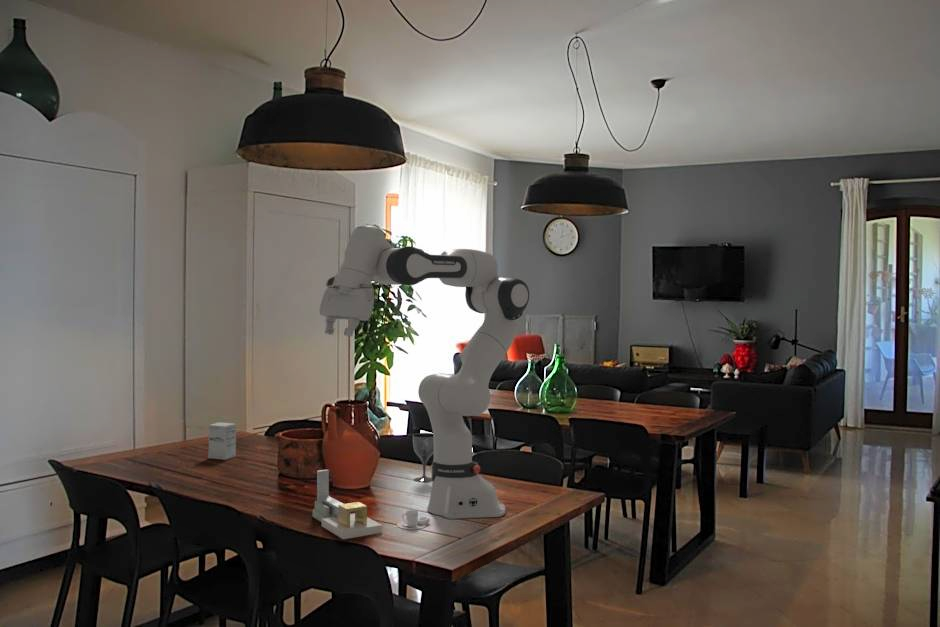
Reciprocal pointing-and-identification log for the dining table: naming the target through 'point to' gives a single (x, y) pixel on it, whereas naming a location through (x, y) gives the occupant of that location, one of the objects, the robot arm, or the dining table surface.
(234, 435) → the supplement box
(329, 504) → the grey l-shaped piece
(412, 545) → the dining table surface
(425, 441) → the wine glass
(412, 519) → the teacup and saucer
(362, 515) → the block
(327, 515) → the grey blocky piece
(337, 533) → the white base plate
